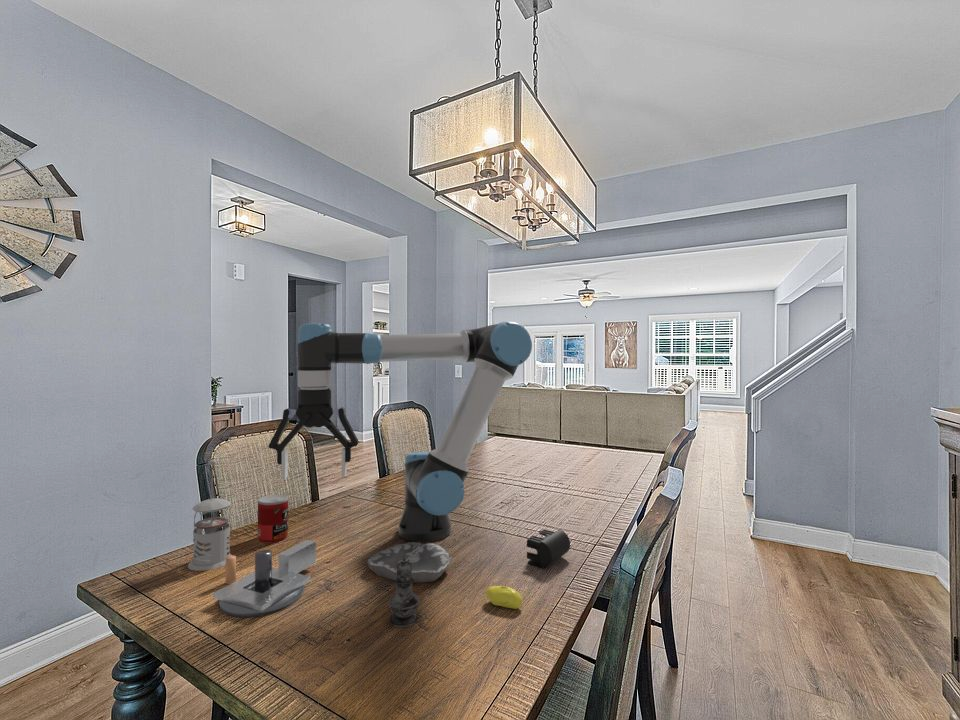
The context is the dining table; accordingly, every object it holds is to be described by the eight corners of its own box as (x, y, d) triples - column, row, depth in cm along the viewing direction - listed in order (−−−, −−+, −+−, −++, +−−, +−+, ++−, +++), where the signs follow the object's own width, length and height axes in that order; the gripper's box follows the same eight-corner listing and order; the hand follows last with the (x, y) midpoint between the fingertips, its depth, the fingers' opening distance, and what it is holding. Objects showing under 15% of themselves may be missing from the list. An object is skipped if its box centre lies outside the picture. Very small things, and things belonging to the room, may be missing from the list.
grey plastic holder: (261, 611, 86) (261, 585, 86) (212, 598, 91) (213, 573, 91) (332, 566, 106) (333, 544, 106) (289, 557, 110) (289, 536, 110)
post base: (318, 581, 101) (318, 541, 101) (272, 621, 85) (272, 574, 85) (255, 574, 104) (255, 535, 104) (200, 612, 89) (200, 566, 89)
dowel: (237, 580, 101) (238, 556, 101) (231, 584, 99) (231, 559, 99) (230, 579, 102) (230, 555, 102) (223, 583, 100) (223, 559, 100)
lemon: (517, 616, 88) (517, 596, 88) (481, 605, 92) (481, 586, 92) (525, 605, 92) (526, 586, 92) (490, 595, 96) (491, 577, 96)
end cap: (551, 573, 106) (551, 544, 106) (525, 565, 110) (525, 537, 110) (570, 558, 114) (570, 532, 114) (545, 551, 118) (545, 525, 118)
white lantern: (200, 574, 104) (201, 466, 104) (176, 562, 110) (176, 460, 110) (242, 558, 112) (243, 458, 112) (217, 548, 119) (217, 453, 119)
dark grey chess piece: (390, 611, 89) (390, 550, 89) (420, 610, 90) (420, 549, 90) (386, 629, 83) (387, 564, 83) (418, 627, 84) (419, 563, 84)
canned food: (277, 544, 121) (277, 503, 121) (250, 541, 123) (251, 501, 123) (294, 533, 129) (294, 495, 129) (269, 531, 130) (269, 493, 130)
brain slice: (460, 557, 115) (460, 545, 115) (440, 590, 98) (441, 576, 98) (387, 550, 119) (388, 539, 119) (357, 581, 102) (357, 568, 102)
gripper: (369, 386, 114) (369, 470, 114) (264, 387, 110) (264, 474, 110) (366, 388, 107) (366, 478, 107) (254, 389, 103) (254, 483, 103)
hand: (314, 476), depth 108 cm, fingers open, 13 cm apart
